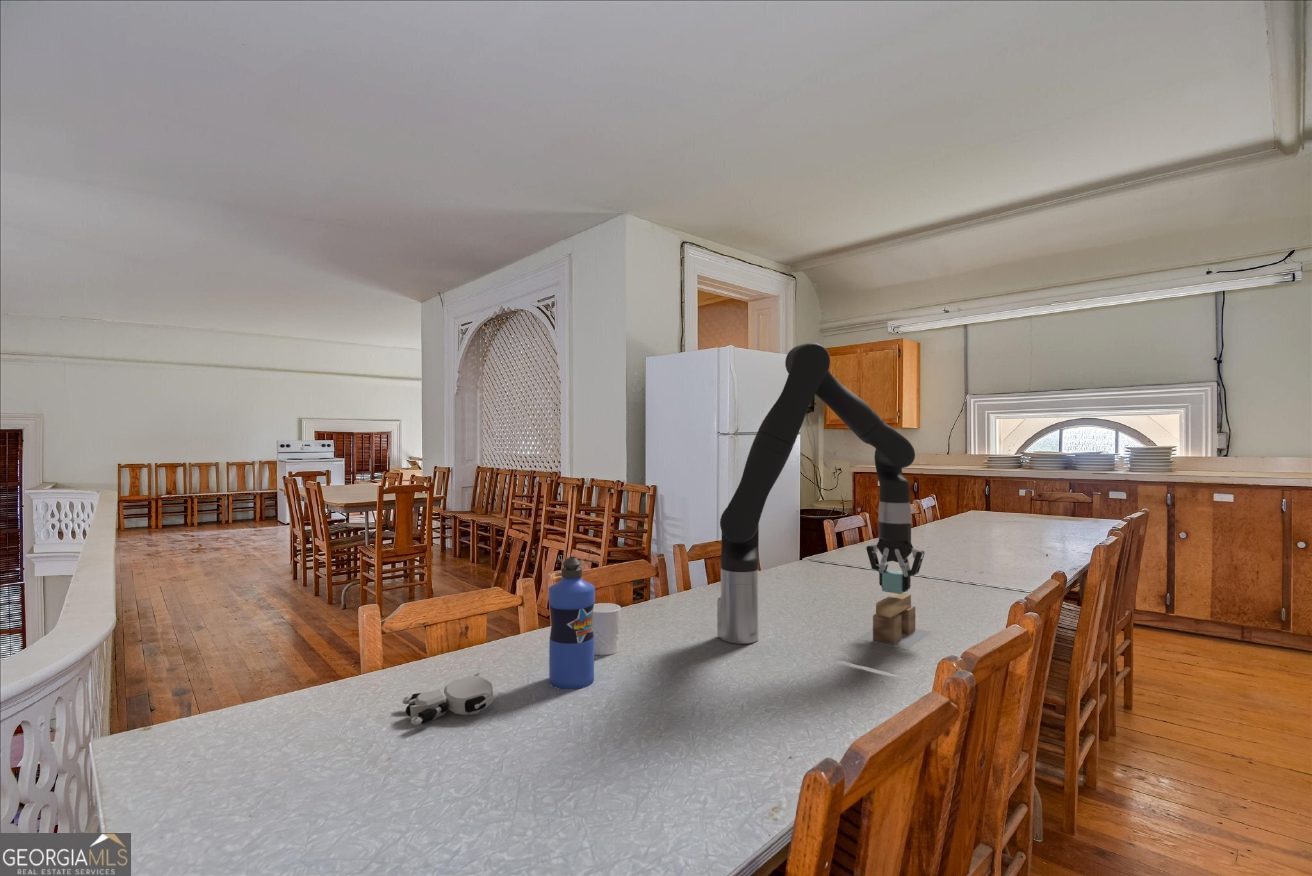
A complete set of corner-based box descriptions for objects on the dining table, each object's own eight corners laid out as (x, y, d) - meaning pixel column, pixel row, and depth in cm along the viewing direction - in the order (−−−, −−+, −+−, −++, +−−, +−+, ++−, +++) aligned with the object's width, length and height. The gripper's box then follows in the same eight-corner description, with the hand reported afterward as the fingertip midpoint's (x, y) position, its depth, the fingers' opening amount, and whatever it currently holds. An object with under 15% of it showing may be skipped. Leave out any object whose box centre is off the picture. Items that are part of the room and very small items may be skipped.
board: (856, 642, 151) (856, 638, 151) (884, 625, 164) (884, 622, 164) (906, 653, 143) (906, 649, 143) (931, 634, 157) (931, 631, 157)
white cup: (580, 653, 143) (580, 610, 143) (596, 643, 150) (596, 601, 150) (611, 658, 140) (611, 613, 140) (626, 647, 147) (626, 605, 147)
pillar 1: (872, 640, 150) (872, 615, 150) (880, 635, 153) (880, 611, 153) (893, 644, 146) (893, 619, 146) (901, 639, 150) (901, 614, 150)
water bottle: (604, 680, 127) (604, 557, 127) (568, 694, 120) (568, 564, 120) (574, 668, 133) (574, 551, 133) (539, 681, 126) (539, 557, 126)
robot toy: (412, 742, 103) (502, 715, 111) (410, 715, 103) (500, 690, 110) (401, 714, 114) (483, 691, 121) (399, 689, 113) (482, 668, 121)
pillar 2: (888, 630, 157) (888, 606, 157) (895, 626, 161) (895, 603, 161) (908, 634, 154) (908, 610, 154) (915, 630, 158) (915, 606, 158)
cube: (882, 591, 153) (882, 572, 153) (889, 587, 157) (889, 570, 157) (900, 594, 150) (900, 575, 150) (907, 590, 154) (907, 572, 154)
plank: (876, 615, 150) (876, 603, 150) (897, 603, 160) (897, 592, 160) (890, 618, 147) (890, 605, 147) (910, 606, 158) (910, 594, 158)
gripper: (860, 519, 155) (860, 587, 155) (919, 524, 146) (919, 597, 146) (872, 516, 161) (872, 582, 161) (929, 521, 152) (930, 591, 152)
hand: (894, 589), depth 154 cm, fingers closed on cube, 4 cm apart
